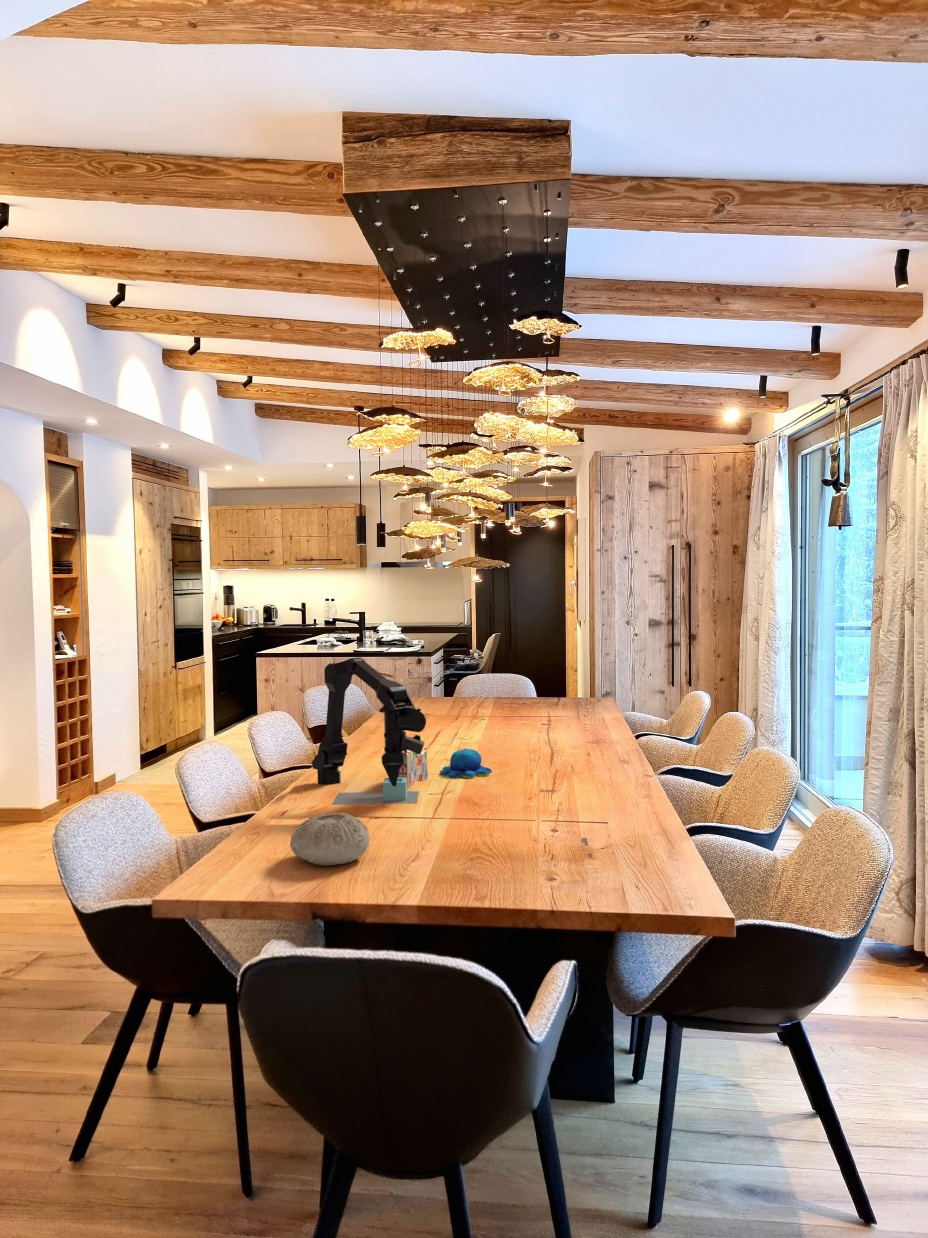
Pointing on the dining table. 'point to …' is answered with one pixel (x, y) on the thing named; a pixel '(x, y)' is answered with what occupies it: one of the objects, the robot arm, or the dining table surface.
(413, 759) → the stack of blocks
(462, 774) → the plush toy
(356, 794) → the grey piece
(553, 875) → the dining table surface
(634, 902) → the dining table surface
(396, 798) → the teal hollow block
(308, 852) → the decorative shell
